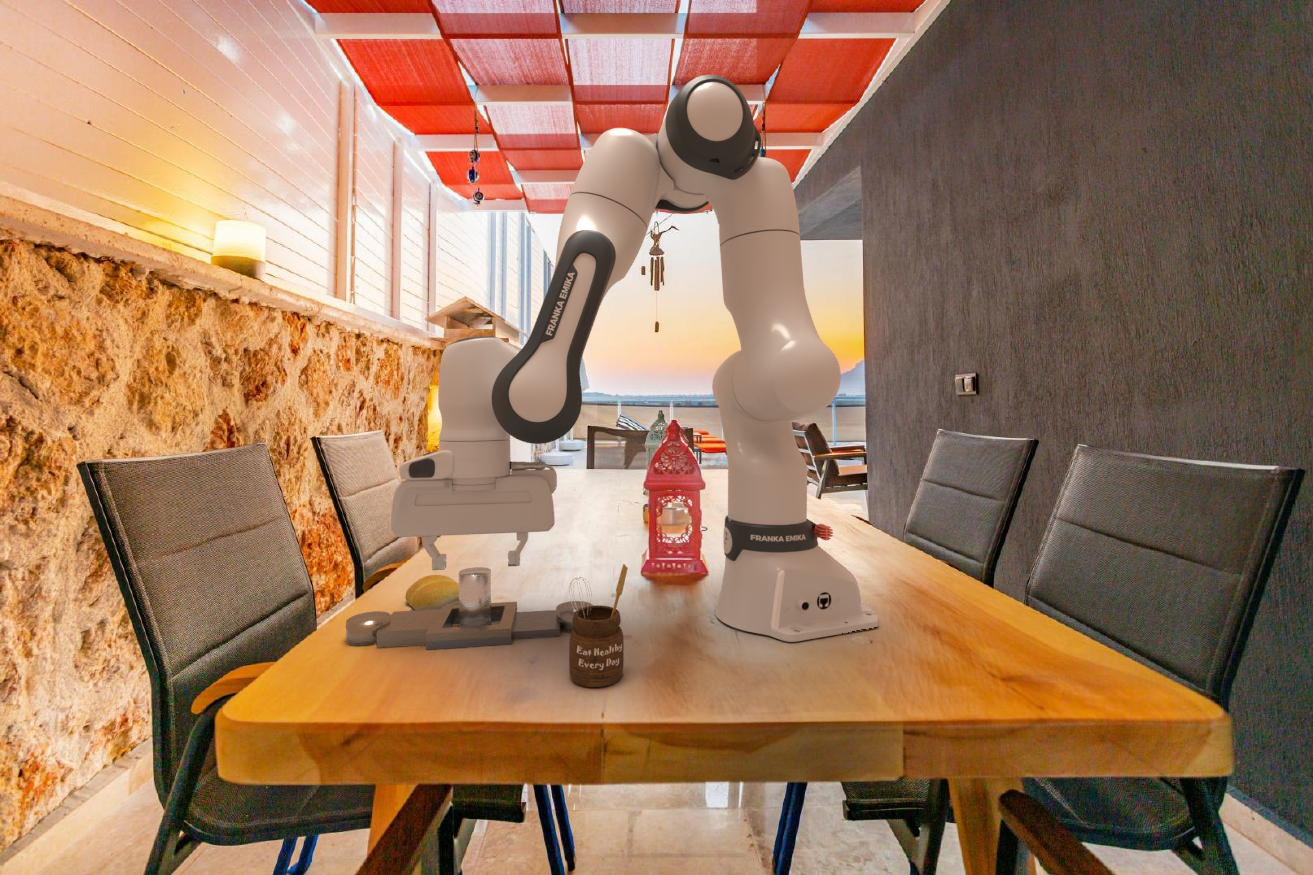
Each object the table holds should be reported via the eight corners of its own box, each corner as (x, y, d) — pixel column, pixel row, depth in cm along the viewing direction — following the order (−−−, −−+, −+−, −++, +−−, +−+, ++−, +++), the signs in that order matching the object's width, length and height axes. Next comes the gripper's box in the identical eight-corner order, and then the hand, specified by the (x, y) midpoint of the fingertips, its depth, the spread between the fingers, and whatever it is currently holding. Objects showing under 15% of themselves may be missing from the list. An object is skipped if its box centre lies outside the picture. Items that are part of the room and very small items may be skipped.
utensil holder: (564, 667, 61) (565, 562, 61) (619, 660, 63) (619, 558, 63) (573, 693, 56) (573, 577, 55) (632, 684, 58) (633, 572, 57)
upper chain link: (517, 615, 77) (517, 598, 77) (511, 644, 67) (511, 624, 67) (361, 624, 74) (361, 605, 73) (331, 655, 64) (331, 635, 64)
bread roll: (418, 618, 77) (418, 590, 76) (400, 601, 83) (399, 576, 83) (475, 605, 82) (475, 579, 82) (454, 590, 89) (453, 566, 89)
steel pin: (492, 624, 74) (492, 566, 73) (488, 636, 70) (488, 574, 70) (462, 626, 73) (461, 567, 73) (456, 638, 69) (455, 576, 69)
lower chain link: (590, 611, 79) (590, 594, 79) (595, 638, 69) (595, 619, 69) (443, 619, 75) (442, 601, 75) (426, 649, 66) (425, 629, 66)
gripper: (556, 459, 76) (557, 557, 76) (400, 461, 72) (402, 564, 73) (556, 462, 70) (557, 569, 70) (385, 465, 66) (387, 578, 66)
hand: (477, 567), depth 71 cm, fingers open, 8 cm apart
